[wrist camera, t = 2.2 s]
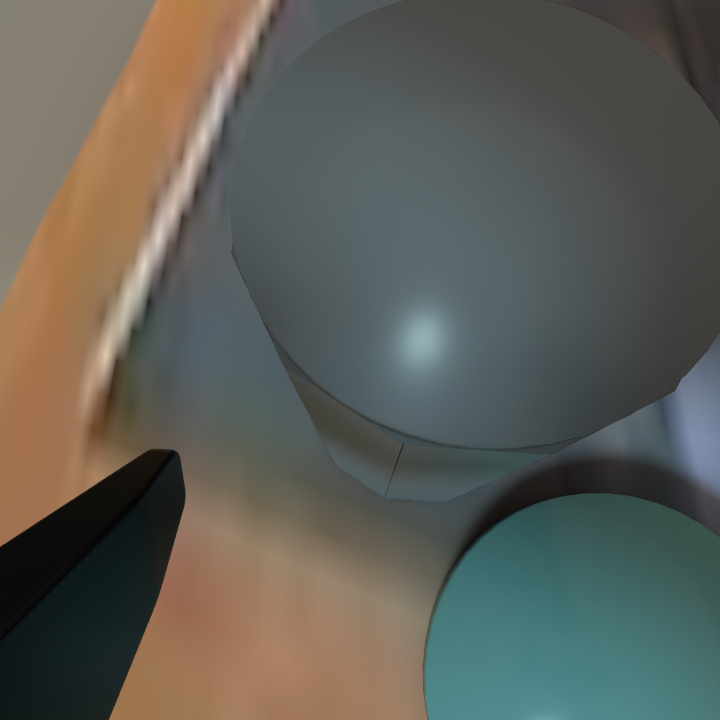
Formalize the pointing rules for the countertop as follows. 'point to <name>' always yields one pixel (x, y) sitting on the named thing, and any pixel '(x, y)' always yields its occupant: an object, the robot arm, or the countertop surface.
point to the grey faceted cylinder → (478, 236)
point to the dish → (579, 617)
